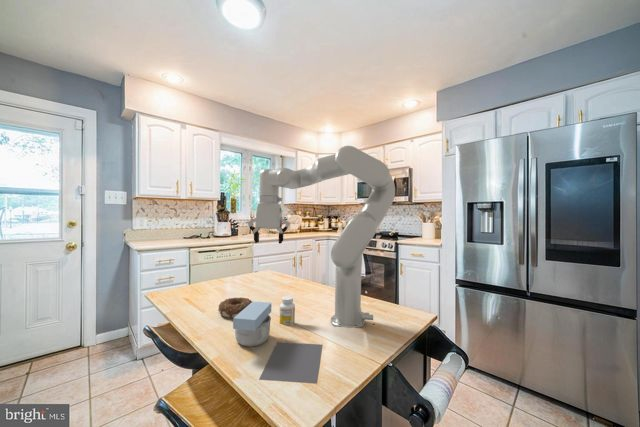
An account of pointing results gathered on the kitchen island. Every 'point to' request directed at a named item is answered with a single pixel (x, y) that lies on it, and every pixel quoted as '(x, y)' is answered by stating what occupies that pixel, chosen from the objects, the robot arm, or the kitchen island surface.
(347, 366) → the kitchen island surface
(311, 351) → the mat
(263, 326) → the teacup
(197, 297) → the kitchen island surface
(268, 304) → the light blue block
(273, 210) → the robot arm
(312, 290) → the kitchen island surface
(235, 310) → the donut
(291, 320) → the supplement bottle
